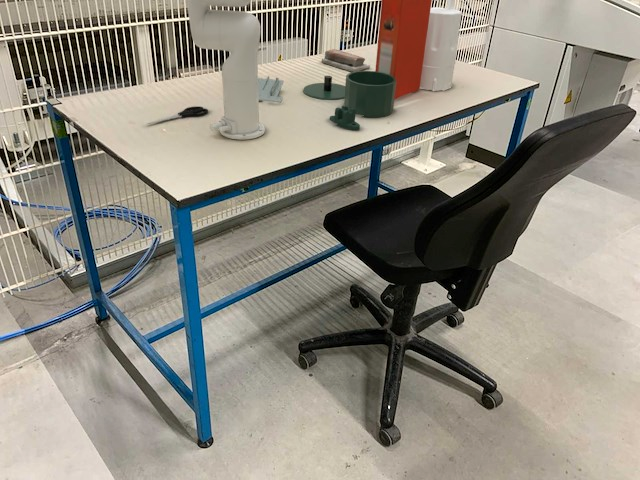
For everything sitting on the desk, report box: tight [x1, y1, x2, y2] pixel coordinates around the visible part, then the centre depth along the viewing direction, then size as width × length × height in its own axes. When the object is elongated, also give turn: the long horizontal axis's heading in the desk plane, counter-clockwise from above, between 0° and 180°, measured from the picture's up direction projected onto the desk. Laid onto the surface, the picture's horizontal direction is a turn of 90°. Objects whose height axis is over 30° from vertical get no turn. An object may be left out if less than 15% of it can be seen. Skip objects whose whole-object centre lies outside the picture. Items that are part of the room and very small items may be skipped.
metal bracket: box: [258, 75, 285, 103], centre depth 173 cm, size 14×6×15 cm
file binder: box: [374, 0, 433, 100], centre depth 173 cm, size 8×17×32 cm, turn 139°
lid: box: [302, 75, 345, 101], centre depth 176 cm, size 17×17×6 cm
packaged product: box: [321, 48, 371, 73], centre depth 207 cm, size 18×5×10 cm
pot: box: [343, 70, 397, 119], centre depth 164 cm, size 16×16×10 cm
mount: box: [329, 105, 361, 132], centre depth 153 cm, size 11×4×5 cm, turn 47°
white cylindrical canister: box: [419, 0, 462, 92], centre depth 183 cm, size 15×15×33 cm
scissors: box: [147, 106, 209, 125], centre depth 153 cm, size 7×1×20 cm
